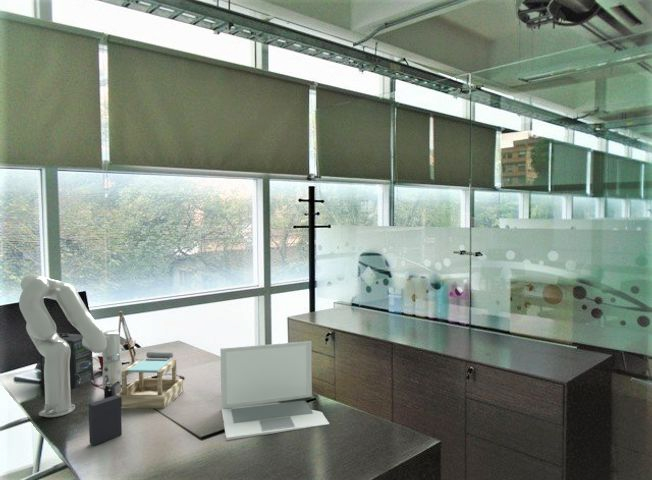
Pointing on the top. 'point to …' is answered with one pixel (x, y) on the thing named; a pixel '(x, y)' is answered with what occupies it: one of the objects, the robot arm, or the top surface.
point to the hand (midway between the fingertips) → (112, 395)
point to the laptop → (267, 389)
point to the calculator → (105, 419)
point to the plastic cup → (100, 359)
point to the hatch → (152, 362)
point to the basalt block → (115, 388)
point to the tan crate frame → (150, 388)
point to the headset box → (76, 361)
